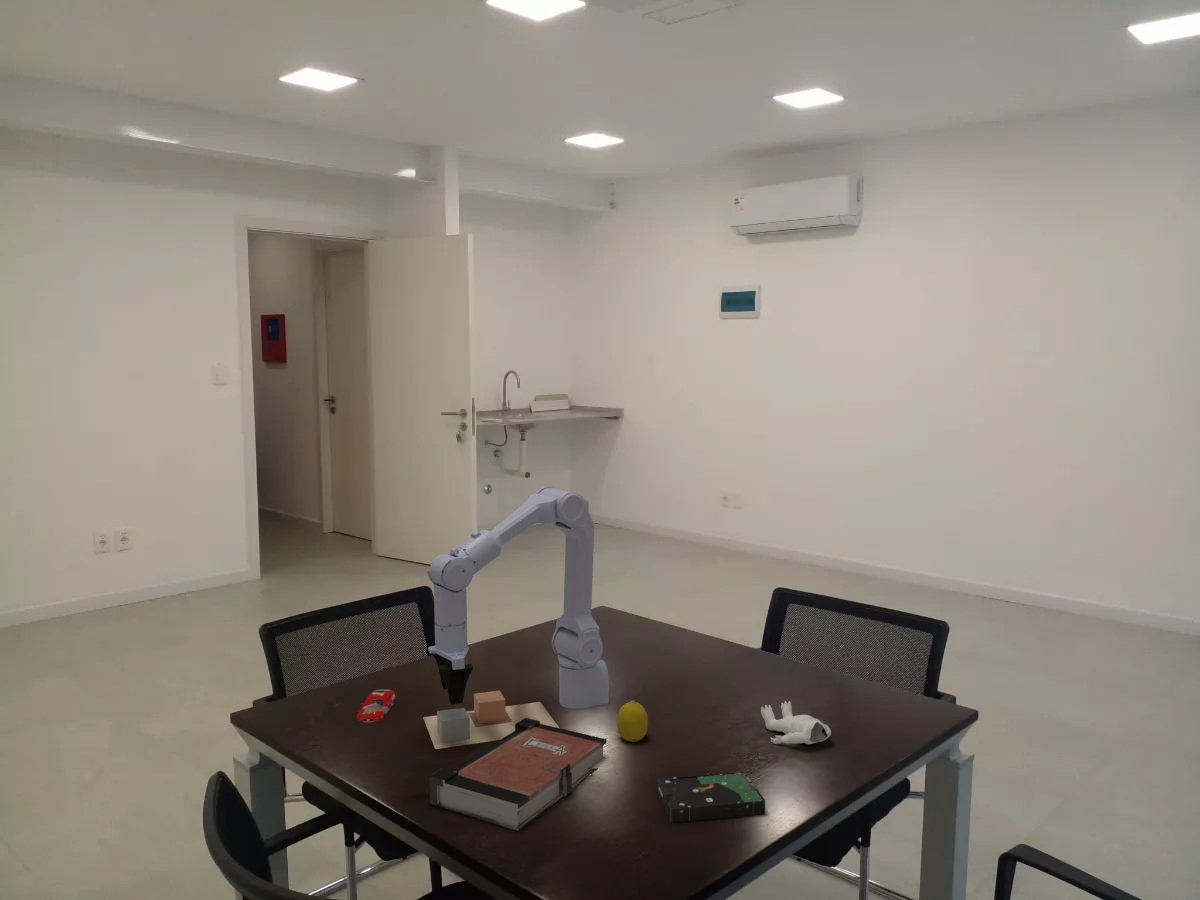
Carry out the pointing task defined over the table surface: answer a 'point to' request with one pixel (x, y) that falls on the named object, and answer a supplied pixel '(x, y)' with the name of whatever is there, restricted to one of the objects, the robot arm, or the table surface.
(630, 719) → the lemon
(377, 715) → the race car
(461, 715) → the grey brick
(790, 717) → the toy creature
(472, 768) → the book
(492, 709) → the terracotta brick
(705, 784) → the disk drive
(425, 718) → the board
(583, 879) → the table surface
